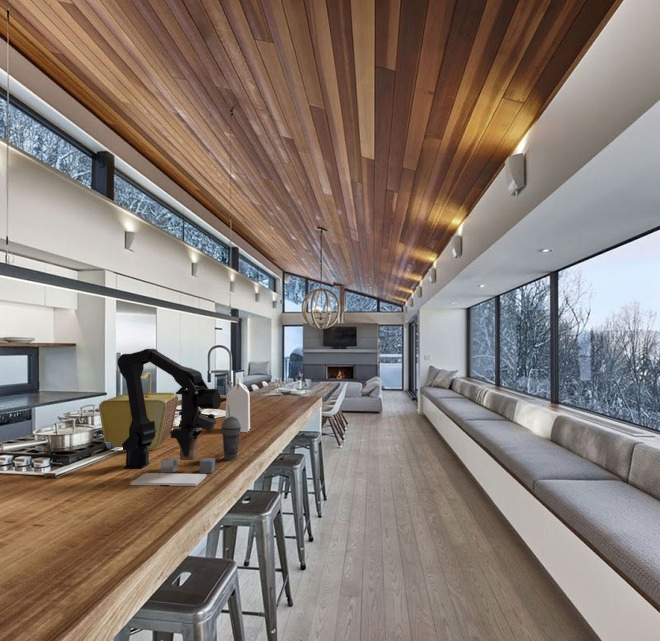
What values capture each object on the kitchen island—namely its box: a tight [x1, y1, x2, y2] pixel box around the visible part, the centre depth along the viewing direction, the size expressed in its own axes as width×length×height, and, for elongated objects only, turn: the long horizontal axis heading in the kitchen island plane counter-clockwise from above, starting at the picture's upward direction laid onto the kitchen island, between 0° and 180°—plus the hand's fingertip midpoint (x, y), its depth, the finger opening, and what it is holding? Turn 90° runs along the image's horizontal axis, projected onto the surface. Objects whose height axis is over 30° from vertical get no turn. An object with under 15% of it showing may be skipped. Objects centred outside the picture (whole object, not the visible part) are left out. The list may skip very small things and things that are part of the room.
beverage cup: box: [220, 405, 241, 461], centre depth 170 cm, size 7×7×20 cm
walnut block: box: [179, 438, 199, 461], centre depth 153 cm, size 4×4×6 cm
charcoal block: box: [199, 457, 216, 474], centre depth 152 cm, size 4×4×4 cm
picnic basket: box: [98, 371, 179, 451], centre depth 194 cm, size 29×26×30 cm
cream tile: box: [130, 472, 207, 487], centre depth 141 cm, size 20×10×1 cm, turn 88°
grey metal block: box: [160, 457, 178, 473], centre depth 153 cm, size 4×4×4 cm
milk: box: [224, 377, 251, 433], centre depth 227 cm, size 12×12×26 cm
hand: (188, 454), depth 153 cm, fingers closed on walnut block, 4 cm apart
